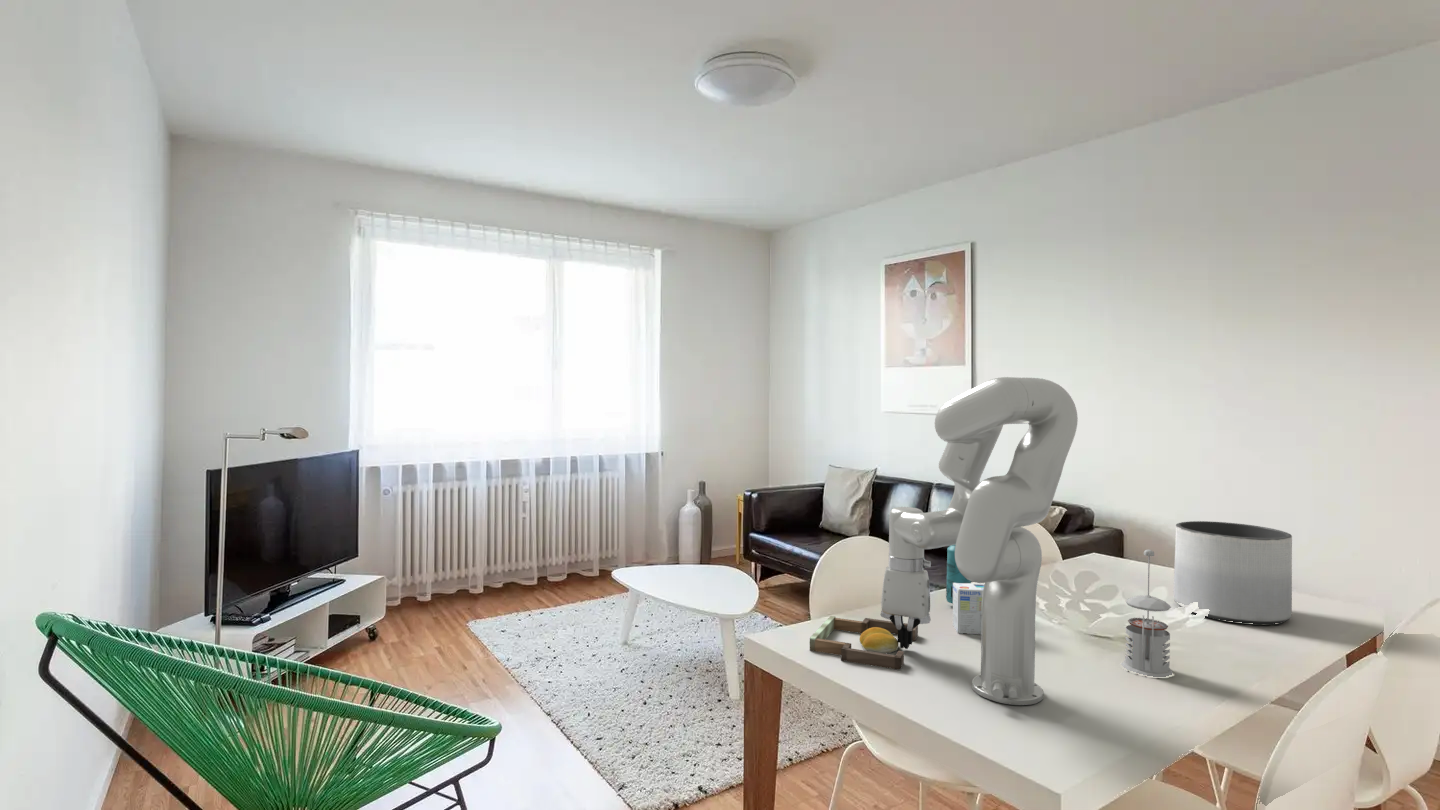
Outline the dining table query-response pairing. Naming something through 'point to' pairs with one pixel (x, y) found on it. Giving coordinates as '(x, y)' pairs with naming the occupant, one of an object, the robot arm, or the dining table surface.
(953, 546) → the beverage bottle
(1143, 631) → the french press
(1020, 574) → the robot arm
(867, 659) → the frame
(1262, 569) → the planter
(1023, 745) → the dining table surface
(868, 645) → the bread roll
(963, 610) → the light bulb box
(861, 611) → the dining table surface
